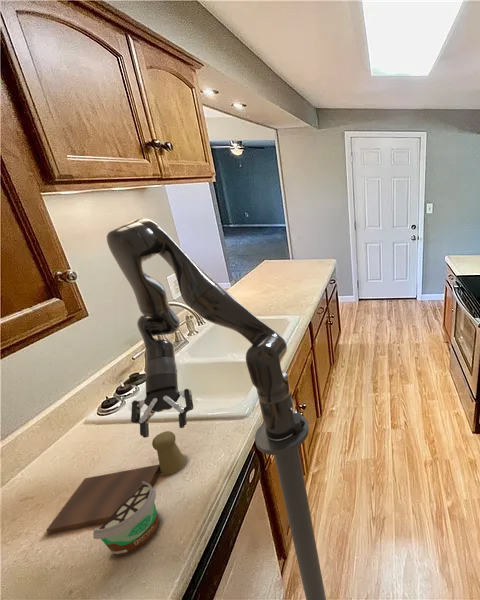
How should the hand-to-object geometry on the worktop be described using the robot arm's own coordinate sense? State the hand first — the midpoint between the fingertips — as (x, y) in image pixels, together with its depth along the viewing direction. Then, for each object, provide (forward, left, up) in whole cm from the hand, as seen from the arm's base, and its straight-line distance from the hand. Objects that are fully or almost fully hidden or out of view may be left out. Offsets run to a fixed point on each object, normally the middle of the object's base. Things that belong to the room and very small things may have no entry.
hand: (164, 432), depth 91 cm
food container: (-2, +22, -11) cm, 24 cm away
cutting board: (+12, +9, -10) cm, 18 cm away
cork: (0, +2, -11) cm, 11 cm away
